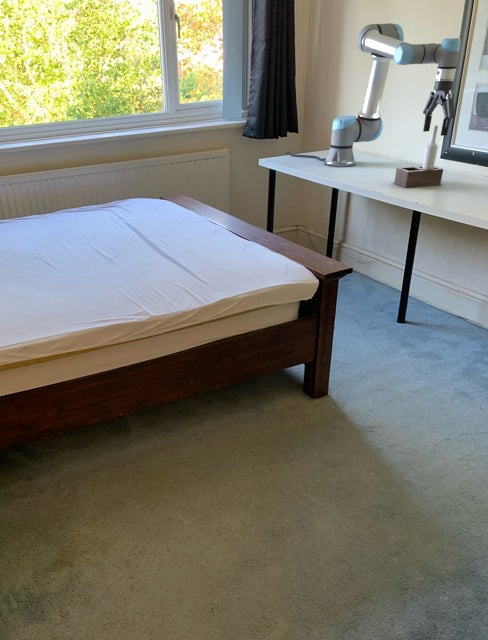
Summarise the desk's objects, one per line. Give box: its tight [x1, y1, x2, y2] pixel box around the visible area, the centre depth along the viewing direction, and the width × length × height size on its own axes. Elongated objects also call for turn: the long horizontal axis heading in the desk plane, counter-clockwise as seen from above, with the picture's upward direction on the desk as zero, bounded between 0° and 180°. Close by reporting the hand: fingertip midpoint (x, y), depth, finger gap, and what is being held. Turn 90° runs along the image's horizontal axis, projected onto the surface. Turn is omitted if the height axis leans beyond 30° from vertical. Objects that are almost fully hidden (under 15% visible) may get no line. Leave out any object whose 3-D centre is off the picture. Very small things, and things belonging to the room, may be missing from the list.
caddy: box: [394, 165, 444, 189], centre depth 275 cm, size 10×18×7 cm, turn 104°
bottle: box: [422, 125, 439, 170], centre depth 271 cm, size 5×5×25 cm
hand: (434, 133), depth 266 cm, fingers open, 13 cm apart
